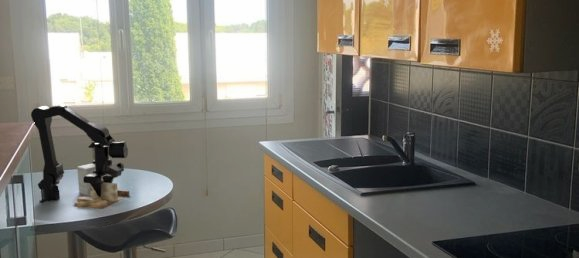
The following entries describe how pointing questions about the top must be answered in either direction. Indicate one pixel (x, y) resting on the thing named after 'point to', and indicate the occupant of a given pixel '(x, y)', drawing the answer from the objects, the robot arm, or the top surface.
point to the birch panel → (106, 192)
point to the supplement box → (83, 171)
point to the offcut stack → (91, 202)
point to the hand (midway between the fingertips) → (104, 194)
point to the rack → (121, 195)
